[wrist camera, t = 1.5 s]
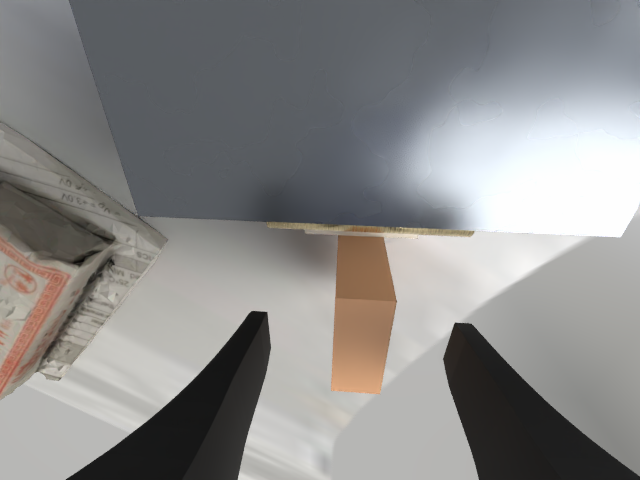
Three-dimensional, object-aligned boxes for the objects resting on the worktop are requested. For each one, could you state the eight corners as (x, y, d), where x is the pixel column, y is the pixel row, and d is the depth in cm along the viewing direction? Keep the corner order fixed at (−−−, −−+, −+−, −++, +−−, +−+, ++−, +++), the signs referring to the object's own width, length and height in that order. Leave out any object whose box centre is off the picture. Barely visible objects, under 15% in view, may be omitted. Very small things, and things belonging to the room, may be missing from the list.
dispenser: (616, -47, 10) (838, -133, 6) (527, 189, 15) (613, 250, 10) (161, -45, 11) (31, -117, 7) (203, 177, 16) (142, 228, 11)
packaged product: (20, 426, 22) (-148, 355, 19) (72, 367, 26) (-58, 301, 23) (127, 287, 14) (-126, 132, 11) (177, 235, 18) (2, 112, 15)
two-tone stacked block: (454, 18, 10) (533, -11, 6) (398, 310, 17) (417, 397, 13) (304, 17, 10) (275, -11, 6) (307, 305, 17) (295, 387, 13)
